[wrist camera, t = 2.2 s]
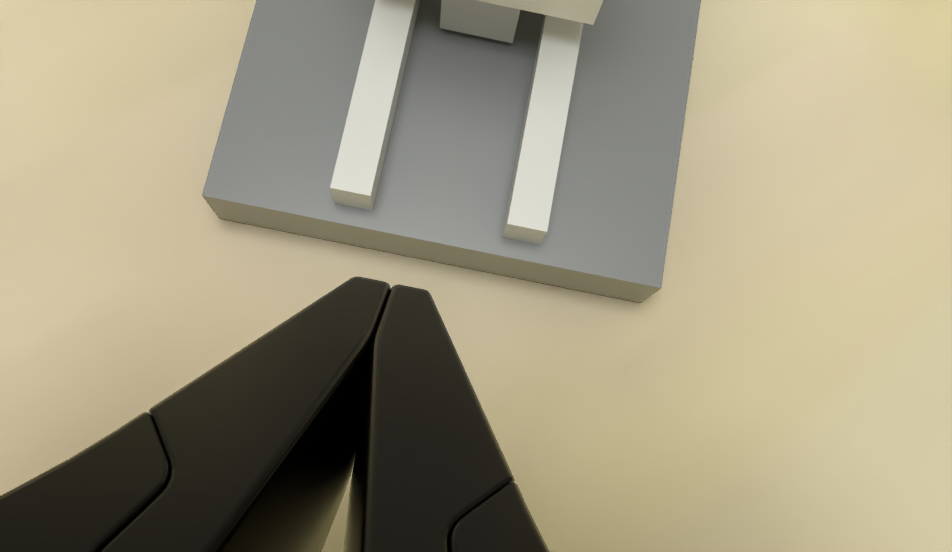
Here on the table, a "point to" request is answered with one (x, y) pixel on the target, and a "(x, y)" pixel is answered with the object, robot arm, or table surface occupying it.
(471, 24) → the fader handle
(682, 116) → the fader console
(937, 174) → the table surface
